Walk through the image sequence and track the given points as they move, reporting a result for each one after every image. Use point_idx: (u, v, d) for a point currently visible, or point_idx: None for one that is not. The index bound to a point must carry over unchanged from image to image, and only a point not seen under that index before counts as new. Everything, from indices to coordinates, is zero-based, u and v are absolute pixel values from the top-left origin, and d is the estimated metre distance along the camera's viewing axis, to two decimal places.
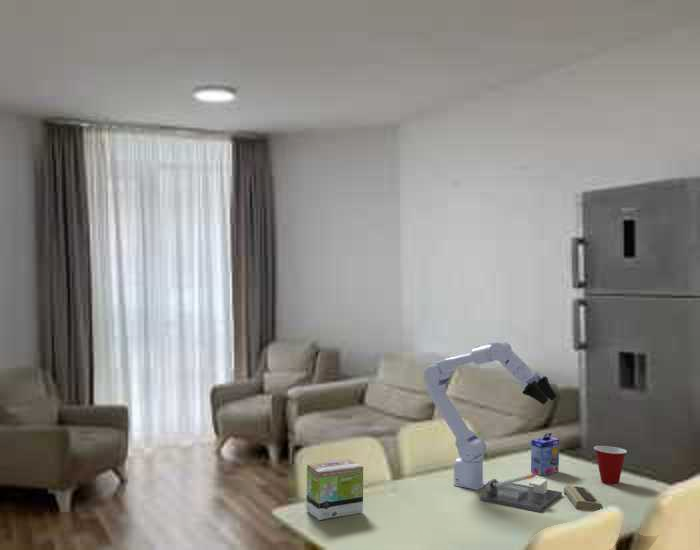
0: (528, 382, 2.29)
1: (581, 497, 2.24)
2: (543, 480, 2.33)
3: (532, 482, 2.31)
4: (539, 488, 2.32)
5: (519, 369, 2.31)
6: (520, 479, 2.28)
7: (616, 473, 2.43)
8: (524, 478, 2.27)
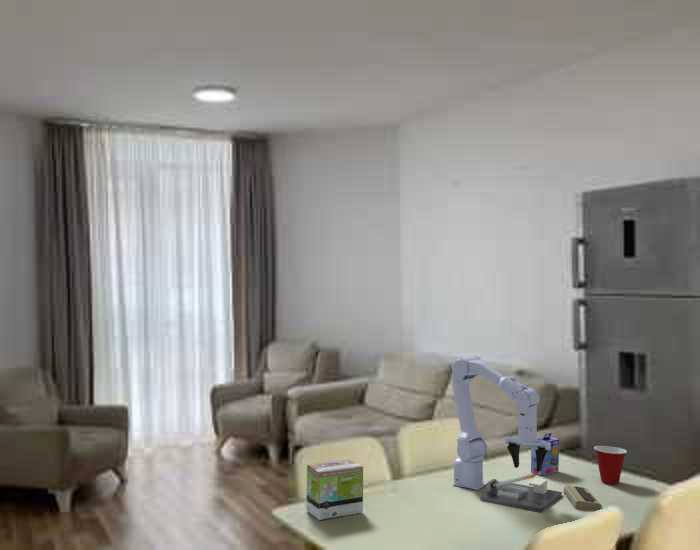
0: None
1: (580, 497, 2.24)
2: (543, 480, 2.33)
3: (532, 482, 2.31)
4: (539, 488, 2.32)
5: (518, 427, 2.28)
6: (520, 479, 2.28)
7: (616, 473, 2.43)
8: (524, 478, 2.27)
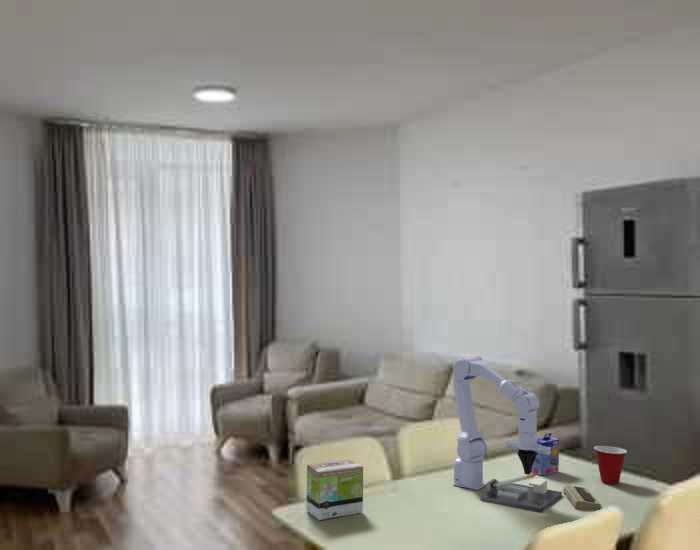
0: None
1: (580, 497, 2.24)
2: (543, 480, 2.33)
3: (532, 482, 2.31)
4: (539, 488, 2.32)
5: (518, 432, 2.28)
6: (520, 479, 2.28)
7: (616, 473, 2.43)
8: (524, 478, 2.27)
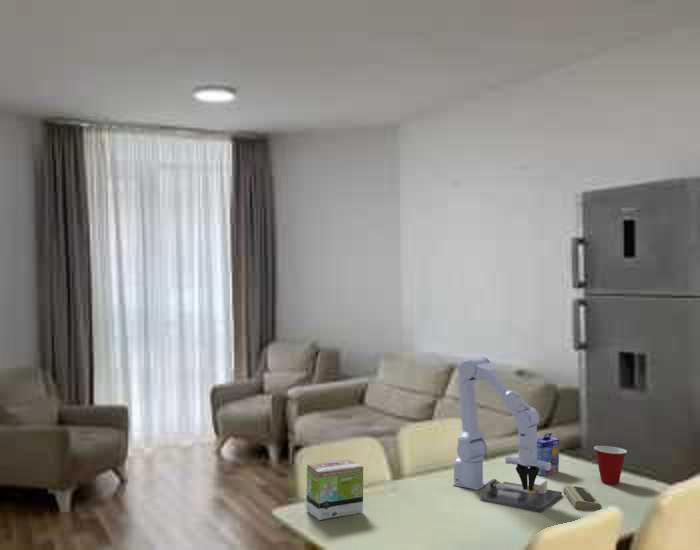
0: None
1: (580, 497, 2.24)
2: (543, 480, 2.33)
3: None
4: (539, 488, 2.32)
5: None
6: (522, 490, 2.27)
7: (616, 473, 2.43)
8: (527, 491, 2.26)
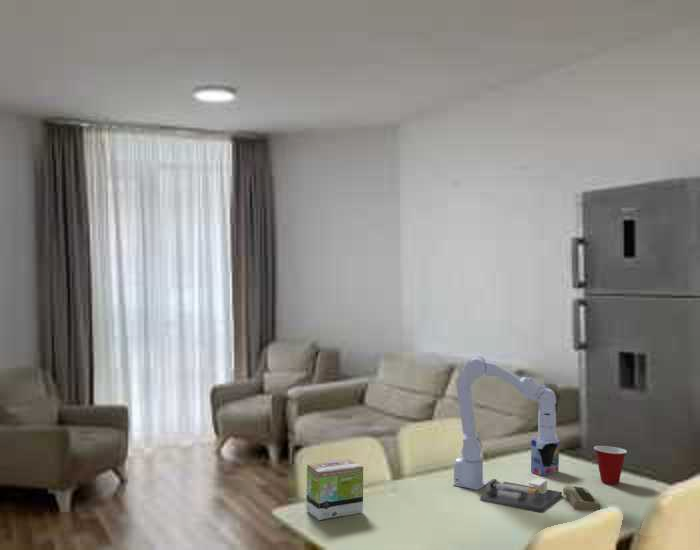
0: None
1: (580, 497, 2.24)
2: (543, 480, 2.33)
3: (532, 482, 2.31)
4: (539, 488, 2.32)
5: (547, 428, 2.35)
6: (522, 490, 2.27)
7: (616, 473, 2.43)
8: (527, 491, 2.26)
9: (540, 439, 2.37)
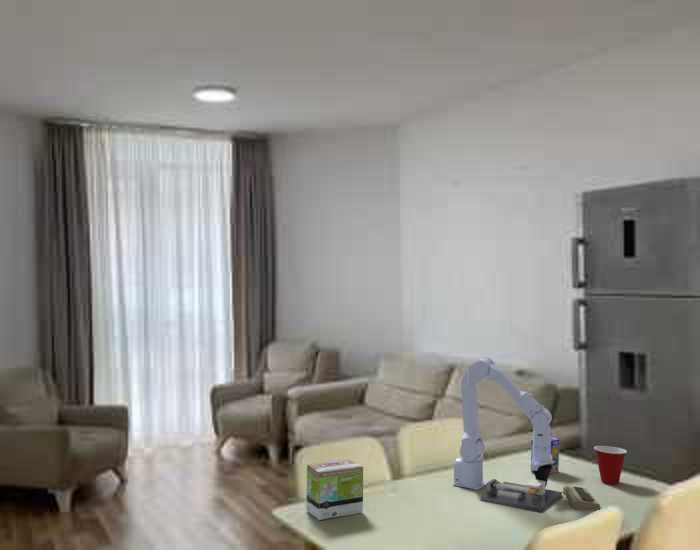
0: None
1: (579, 497, 2.24)
2: (541, 481, 2.31)
3: (530, 483, 2.29)
4: None
5: (542, 449, 2.32)
6: (522, 490, 2.27)
7: (616, 473, 2.43)
8: (527, 491, 2.26)
9: (535, 460, 2.33)
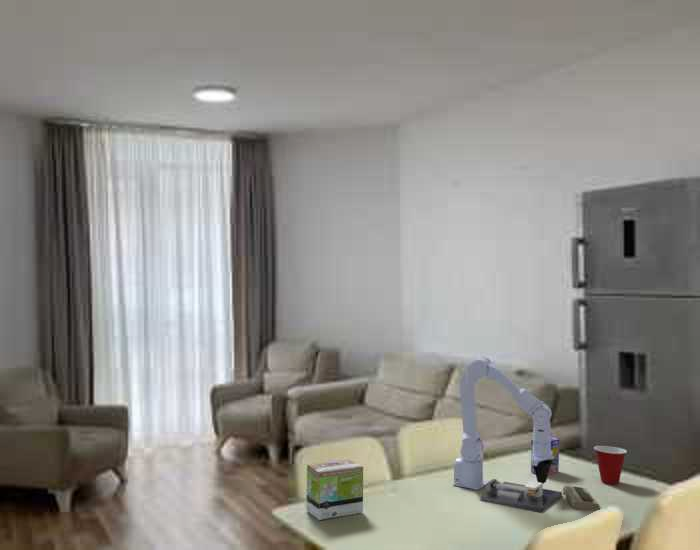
0: None
1: (579, 497, 2.24)
2: (538, 483, 2.29)
3: (527, 485, 2.27)
4: None
5: (542, 445, 2.33)
6: (522, 490, 2.27)
7: (616, 473, 2.43)
8: (527, 491, 2.26)
9: (535, 456, 2.35)
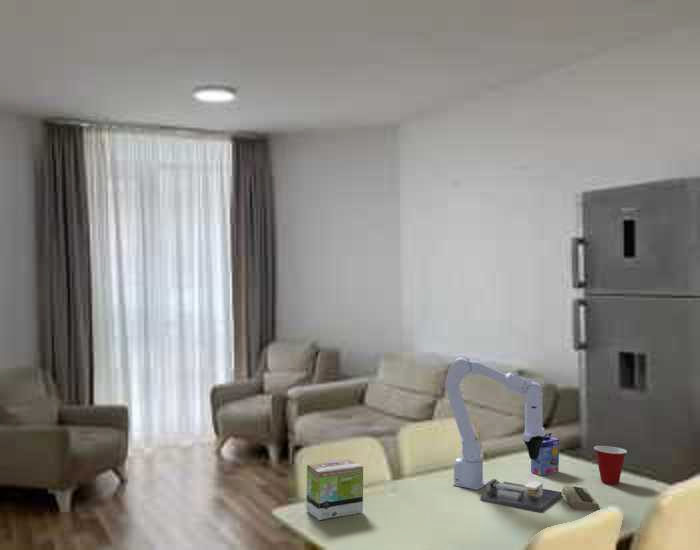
0: None
1: (578, 497, 2.24)
2: (538, 483, 2.29)
3: (527, 485, 2.27)
4: None
5: (534, 421, 2.37)
6: (522, 490, 2.27)
7: (616, 473, 2.43)
8: (527, 491, 2.26)
9: (527, 432, 2.38)
